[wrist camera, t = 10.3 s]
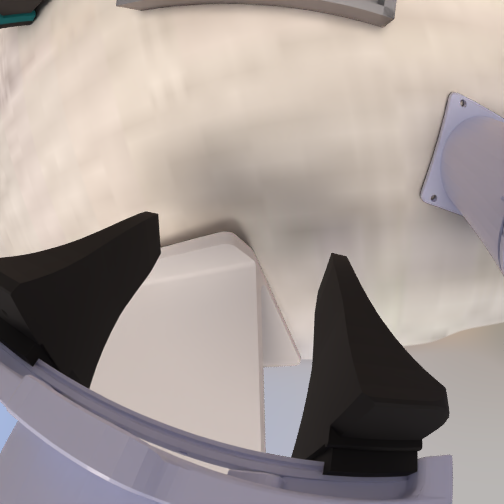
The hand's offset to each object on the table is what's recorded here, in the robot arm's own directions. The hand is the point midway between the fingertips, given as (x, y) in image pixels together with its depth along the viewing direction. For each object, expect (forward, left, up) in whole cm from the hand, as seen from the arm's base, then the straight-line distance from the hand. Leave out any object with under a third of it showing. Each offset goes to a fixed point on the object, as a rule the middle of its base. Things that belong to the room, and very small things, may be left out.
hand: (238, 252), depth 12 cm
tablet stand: (+9, +18, -10) cm, 22 cm away
